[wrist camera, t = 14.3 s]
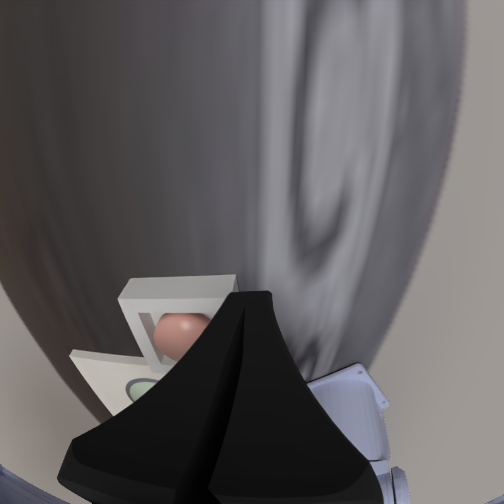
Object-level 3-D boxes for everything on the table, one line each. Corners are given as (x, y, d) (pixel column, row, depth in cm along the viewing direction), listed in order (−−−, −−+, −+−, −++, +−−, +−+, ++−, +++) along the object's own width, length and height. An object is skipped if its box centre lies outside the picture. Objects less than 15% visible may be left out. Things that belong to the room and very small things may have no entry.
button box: (249, 353, 25) (246, 376, 23) (160, 351, 26) (152, 372, 24) (235, 274, 21) (231, 297, 19) (130, 278, 22) (117, 298, 20)
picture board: (245, 449, 35) (244, 456, 34) (138, 437, 37) (137, 443, 36) (216, 360, 26) (214, 370, 25) (73, 349, 27) (68, 356, 26)
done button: (223, 353, 23) (221, 365, 22) (167, 352, 23) (164, 363, 22) (211, 308, 21) (208, 320, 19) (150, 308, 21) (145, 320, 20)
